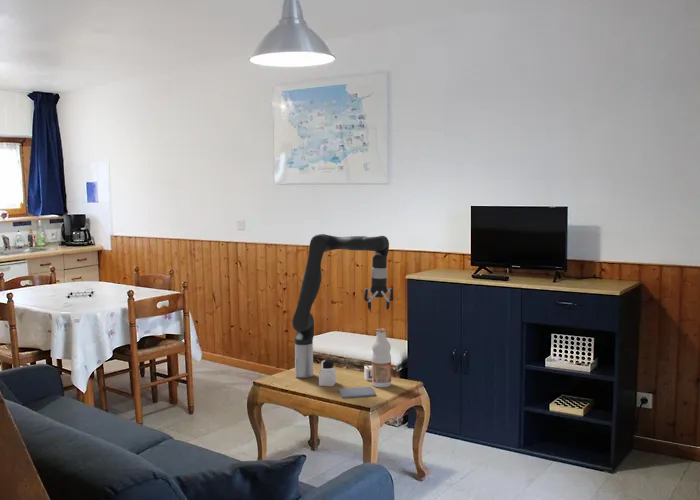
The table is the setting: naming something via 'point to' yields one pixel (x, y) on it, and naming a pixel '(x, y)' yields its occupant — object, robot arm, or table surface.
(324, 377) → the medicine bottle
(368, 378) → the letter cube
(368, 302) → the robot arm
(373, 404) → the table surface
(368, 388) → the slate mat
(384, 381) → the white plastic bottle
